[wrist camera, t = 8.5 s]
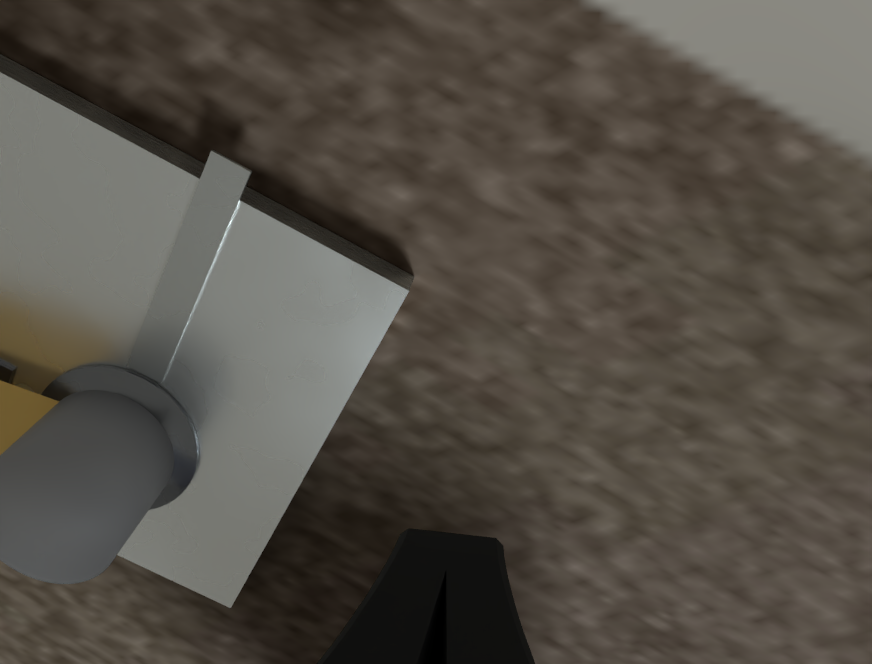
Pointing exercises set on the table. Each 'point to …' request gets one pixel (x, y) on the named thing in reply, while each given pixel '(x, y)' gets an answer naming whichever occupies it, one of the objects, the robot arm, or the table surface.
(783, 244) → the table surface
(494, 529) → the table surface
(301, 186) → the table surface
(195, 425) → the base
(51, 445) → the handle
